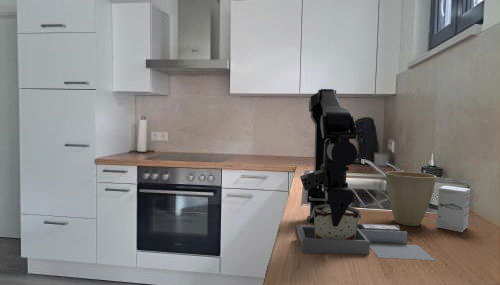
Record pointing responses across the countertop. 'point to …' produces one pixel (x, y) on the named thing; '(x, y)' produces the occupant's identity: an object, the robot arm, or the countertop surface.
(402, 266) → the countertop surface
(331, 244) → the case
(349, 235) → the food container
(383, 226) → the silver metal bar
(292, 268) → the countertop surface
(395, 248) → the grey mat
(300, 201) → the countertop surface
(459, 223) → the supplement box
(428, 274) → the countertop surface
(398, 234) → the bracket
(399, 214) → the plant pot
